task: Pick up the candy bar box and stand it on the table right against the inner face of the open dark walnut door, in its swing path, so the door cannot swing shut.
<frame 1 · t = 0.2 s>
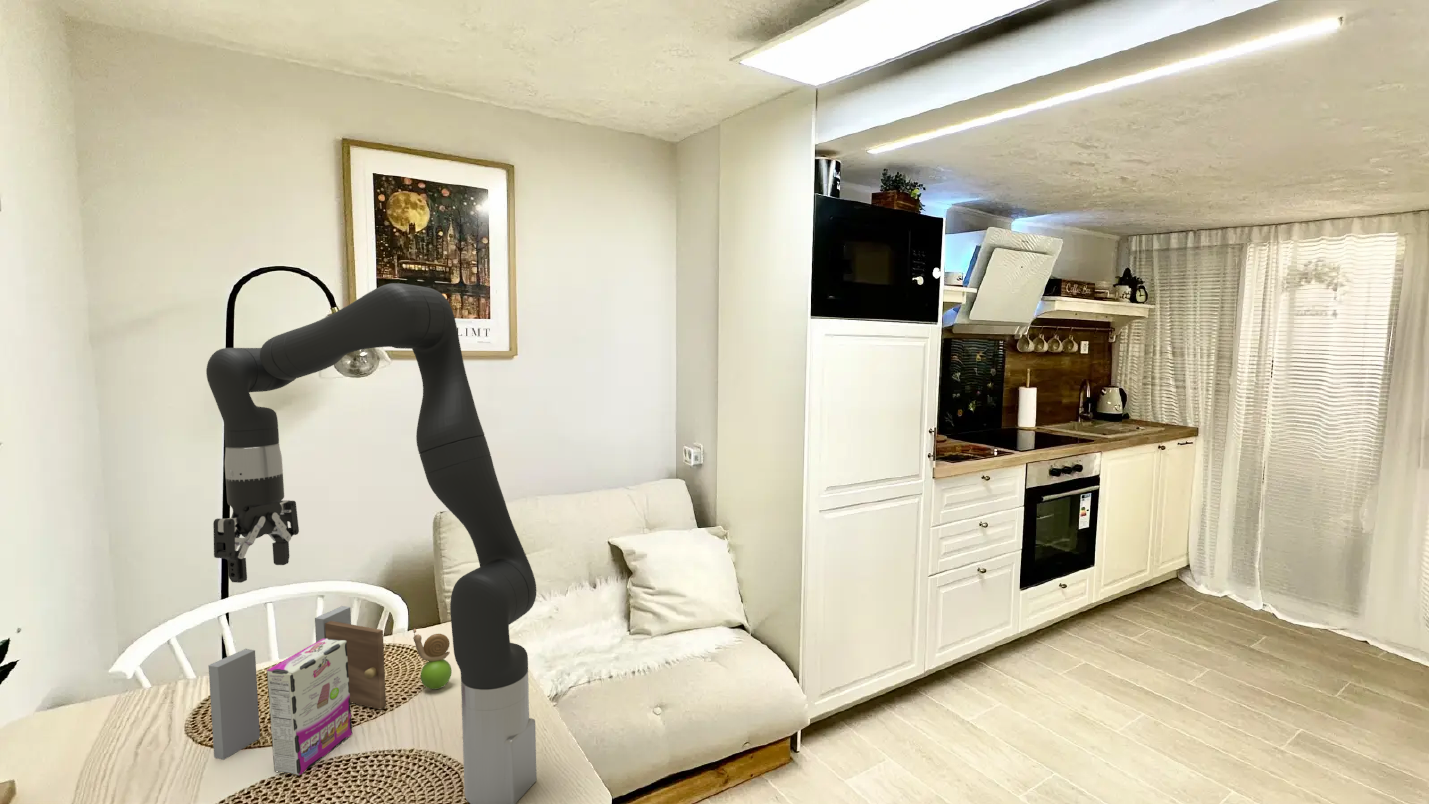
hand: (261, 572, 107), 28 cm above the table, tool pointing down, fingers open, 8 cm apart
door: (352, 665, 119), point 7 cm above the table, hinge at 88.0°
snail figurine: (433, 689, 125), on the table
candy bar box: (314, 754, 105), on the table
door frame: (291, 716, 116), on the table
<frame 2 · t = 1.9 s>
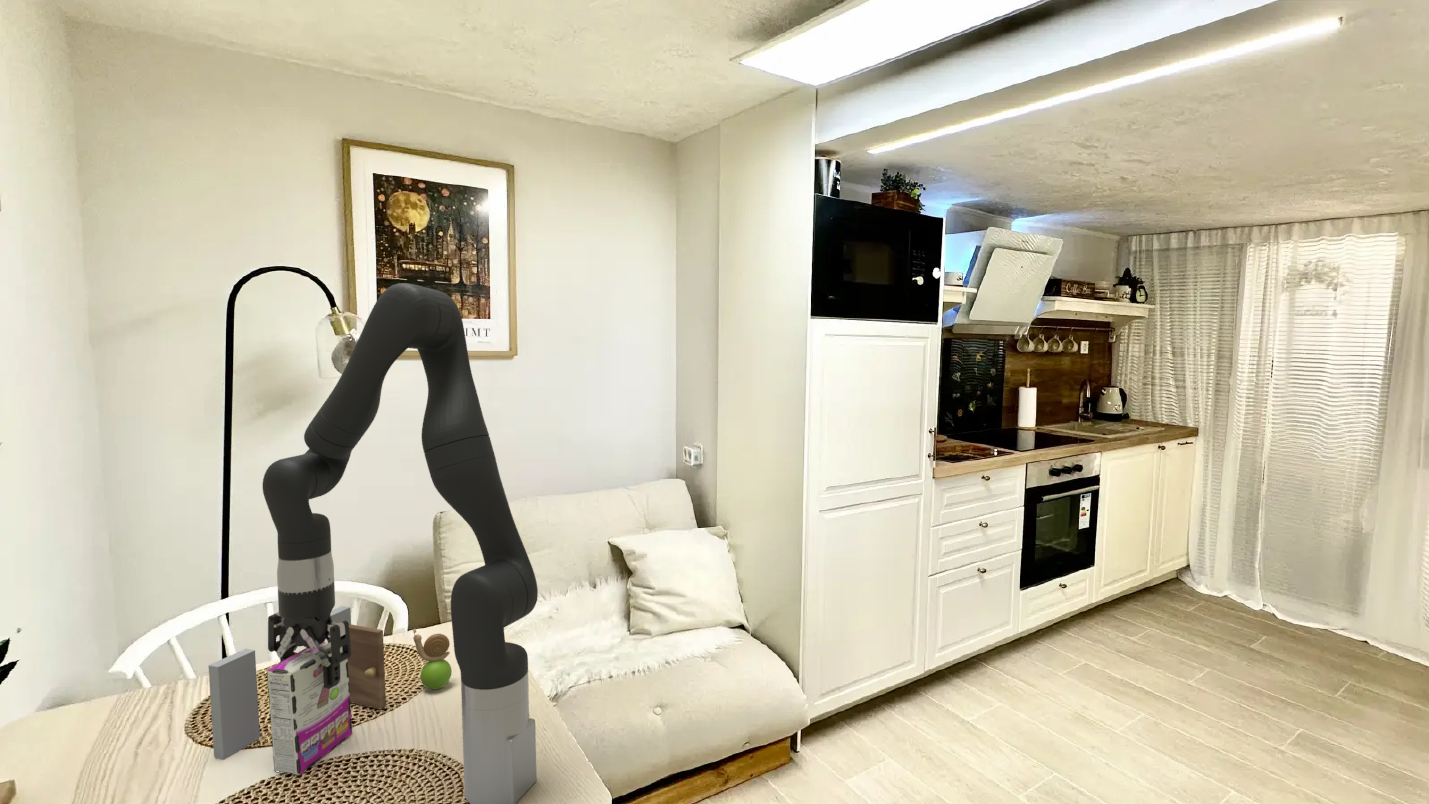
hand: (310, 681, 104), 12 cm above the table, tool pointing down, fingers open, 8 cm apart
nothing on the table moved.
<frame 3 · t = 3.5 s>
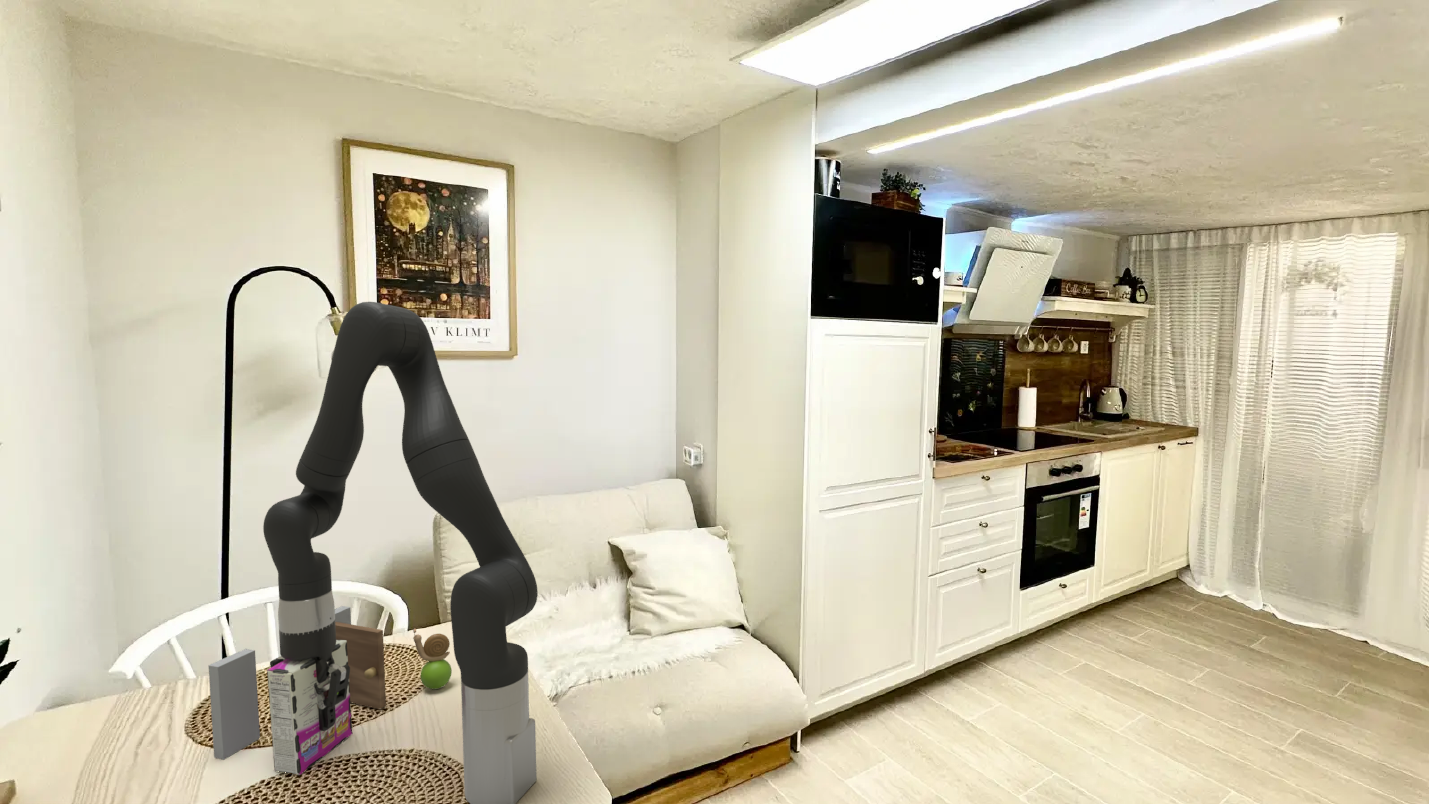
hand: (312, 724, 105), 5 cm above the table, tool pointing down, fingers closed on candy bar box, 5 cm apart
candy bar box: (314, 754, 105), on the table, touching gripper
everything else where it was.
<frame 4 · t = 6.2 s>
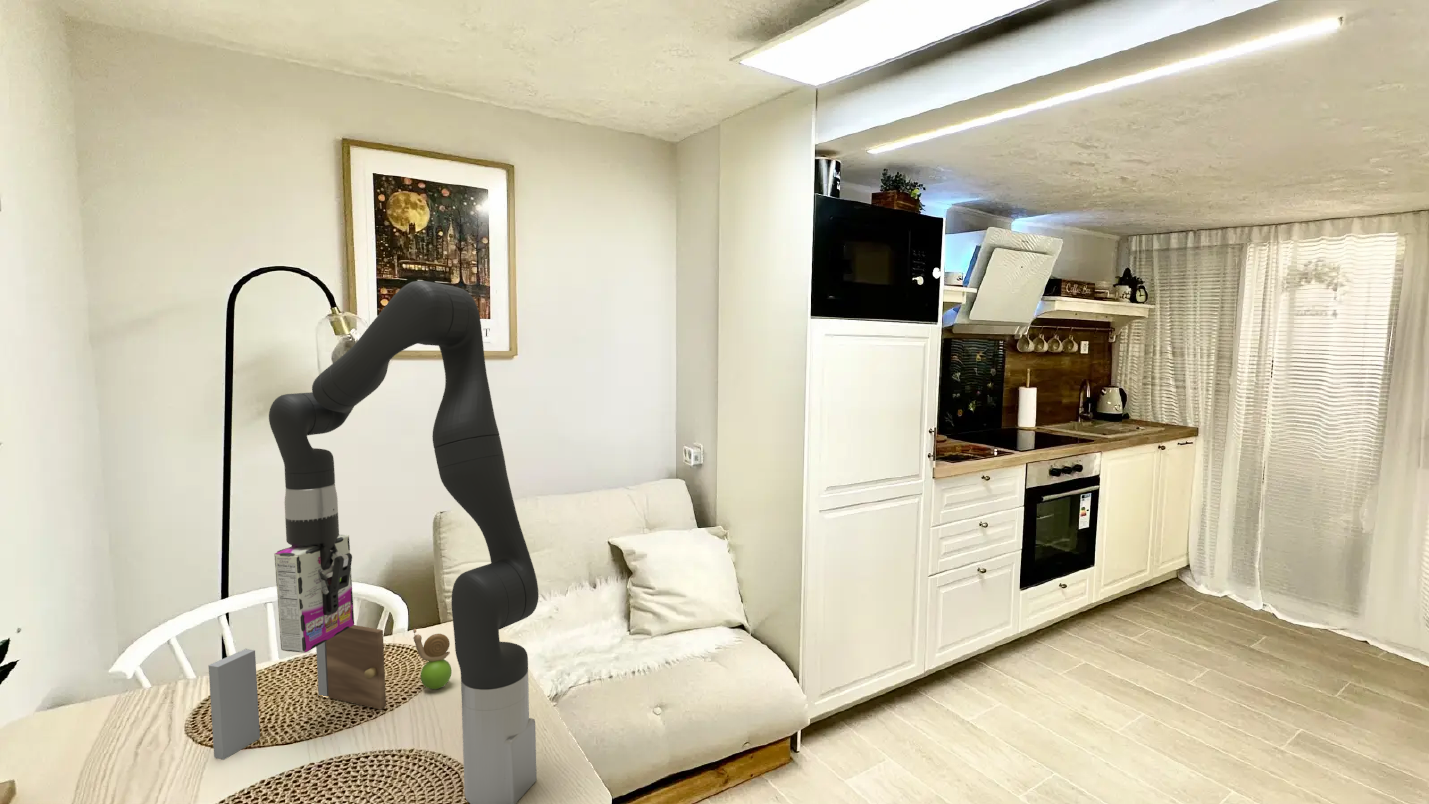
hand: (316, 611, 111), 20 cm above the table, tool pointing down, fingers closed on candy bar box, 5 cm apart
candy bar box: (318, 639, 112), point 15 cm above the table, touching gripper
everything else where it was.
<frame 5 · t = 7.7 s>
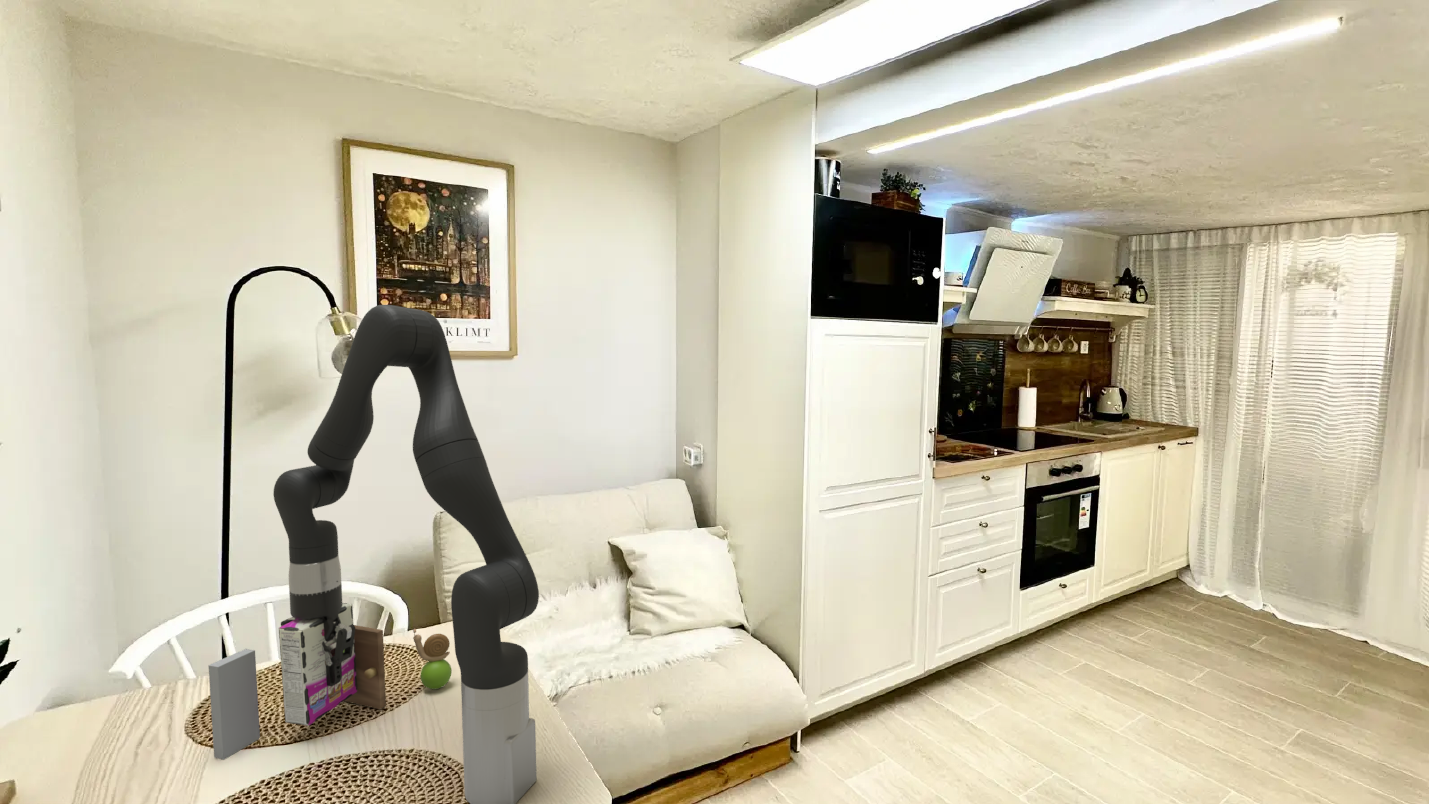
hand: (320, 681, 112), 8 cm above the table, tool pointing down, fingers closed on candy bar box, 5 cm apart
candy bar box: (321, 708, 113), point 3 cm above the table, touching gripper
everything else where it was.
when the fingers open (6 cm above the table, at t = 8.9 s): candy bar box drops 1 cm, on the table.
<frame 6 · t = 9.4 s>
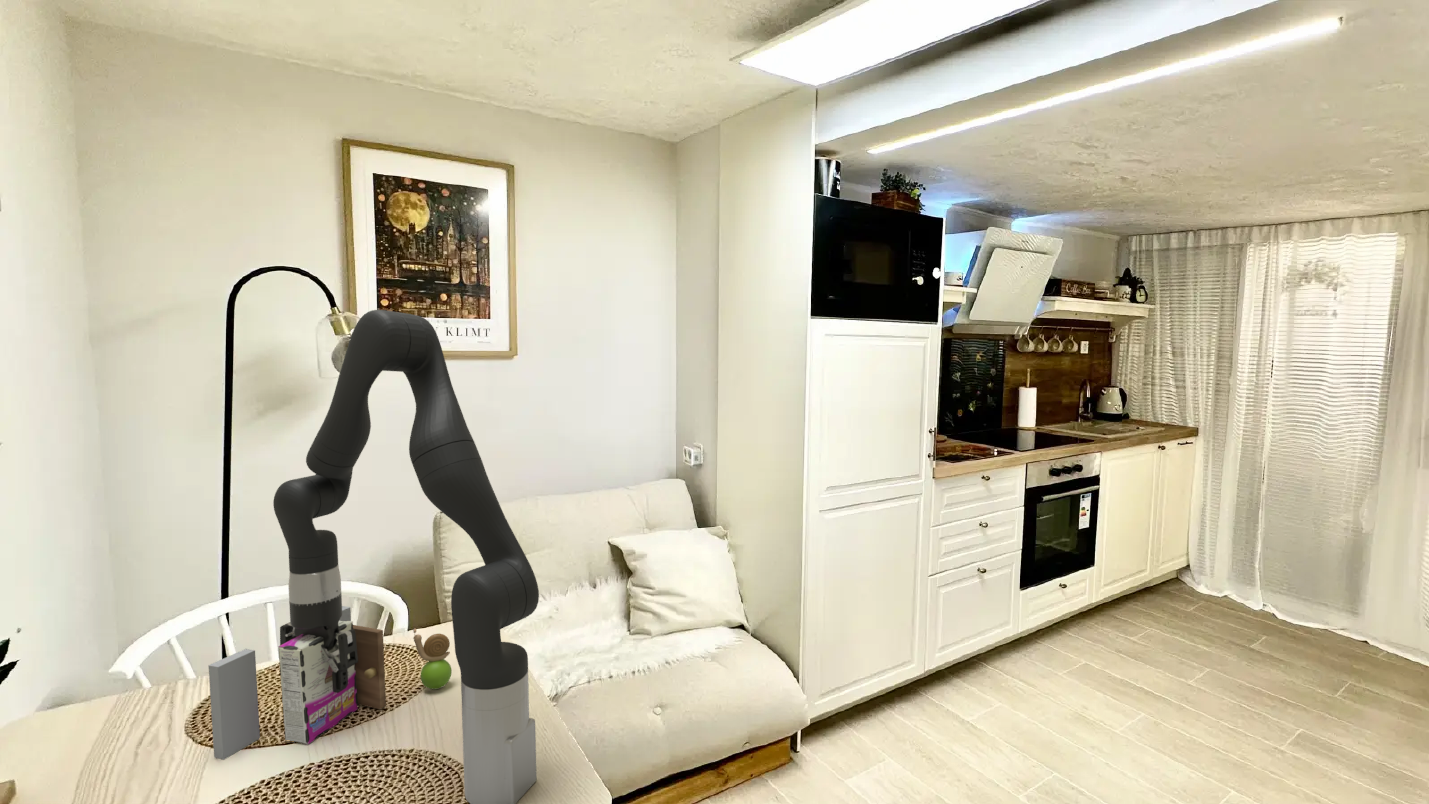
hand: (320, 686, 112), 7 cm above the table, tool pointing down, fingers open, 8 cm apart
candy bar box: (322, 726, 113), on the table
everything else where it was.
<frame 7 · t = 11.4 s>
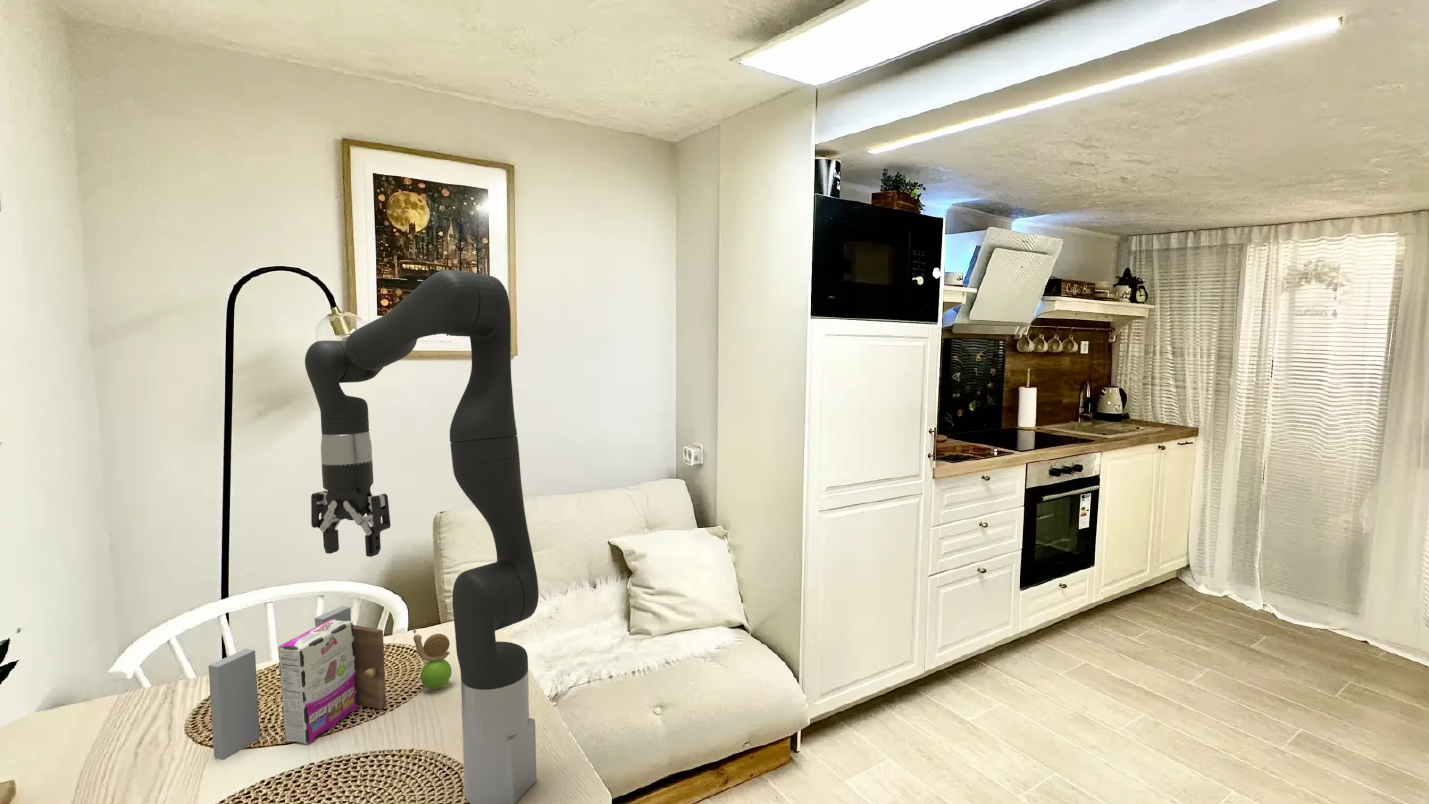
hand: (352, 553, 113), 29 cm above the table, tool pointing down, fingers open, 8 cm apart
nothing on the table moved.
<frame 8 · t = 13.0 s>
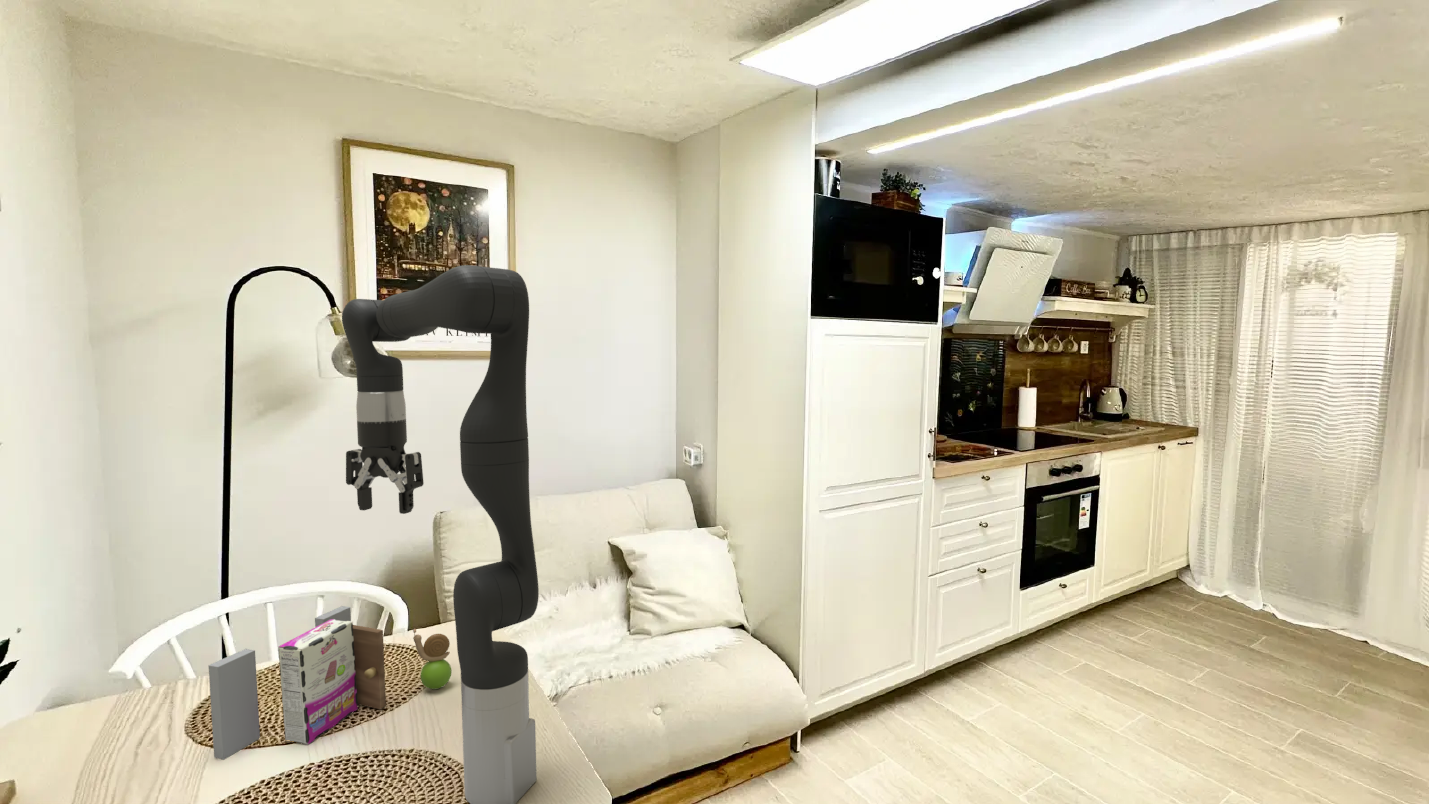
hand: (385, 511, 114), 36 cm above the table, tool pointing down, fingers open, 8 cm apart
nothing on the table moved.
at the end: candy bar box 0.2 cm from the target spot, on the table; candy bar box tilted 0°; door at +88° (first picture: +88°) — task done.
